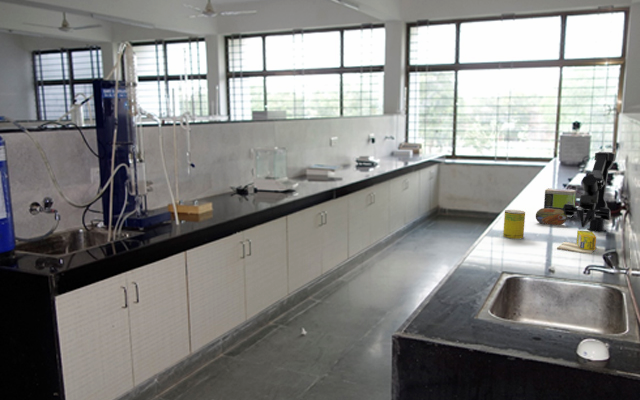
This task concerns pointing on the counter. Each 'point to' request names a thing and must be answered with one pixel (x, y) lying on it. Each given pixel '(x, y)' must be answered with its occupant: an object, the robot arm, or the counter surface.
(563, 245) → the birch board
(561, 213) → the tin
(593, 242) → the supplement box
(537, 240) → the counter surface
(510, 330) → the counter surface
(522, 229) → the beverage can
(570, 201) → the tea box
